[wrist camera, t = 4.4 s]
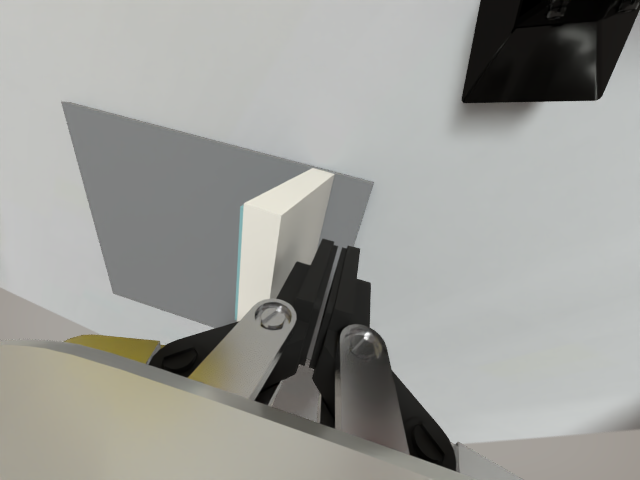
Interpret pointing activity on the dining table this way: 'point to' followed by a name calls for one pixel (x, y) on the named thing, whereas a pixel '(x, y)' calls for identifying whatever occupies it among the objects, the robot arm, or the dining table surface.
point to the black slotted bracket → (546, 49)
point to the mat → (186, 210)
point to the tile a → (279, 235)
